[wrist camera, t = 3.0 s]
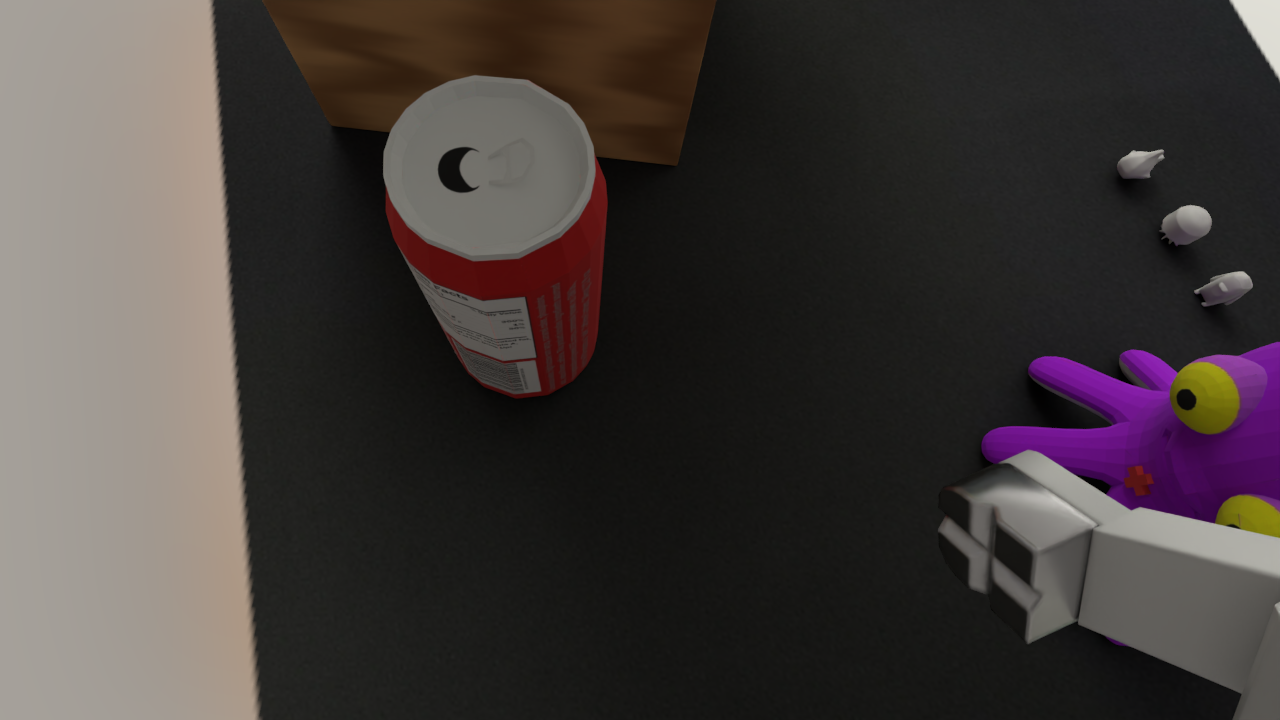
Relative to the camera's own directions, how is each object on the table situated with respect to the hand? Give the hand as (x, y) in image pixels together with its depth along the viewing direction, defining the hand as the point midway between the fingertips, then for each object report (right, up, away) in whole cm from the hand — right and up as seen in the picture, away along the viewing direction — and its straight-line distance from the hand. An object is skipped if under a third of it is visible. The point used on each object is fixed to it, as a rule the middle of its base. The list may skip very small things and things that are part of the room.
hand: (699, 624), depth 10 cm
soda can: (-5, +5, +18) cm, 19 cm away
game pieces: (+23, +10, +22) cm, 33 cm away
